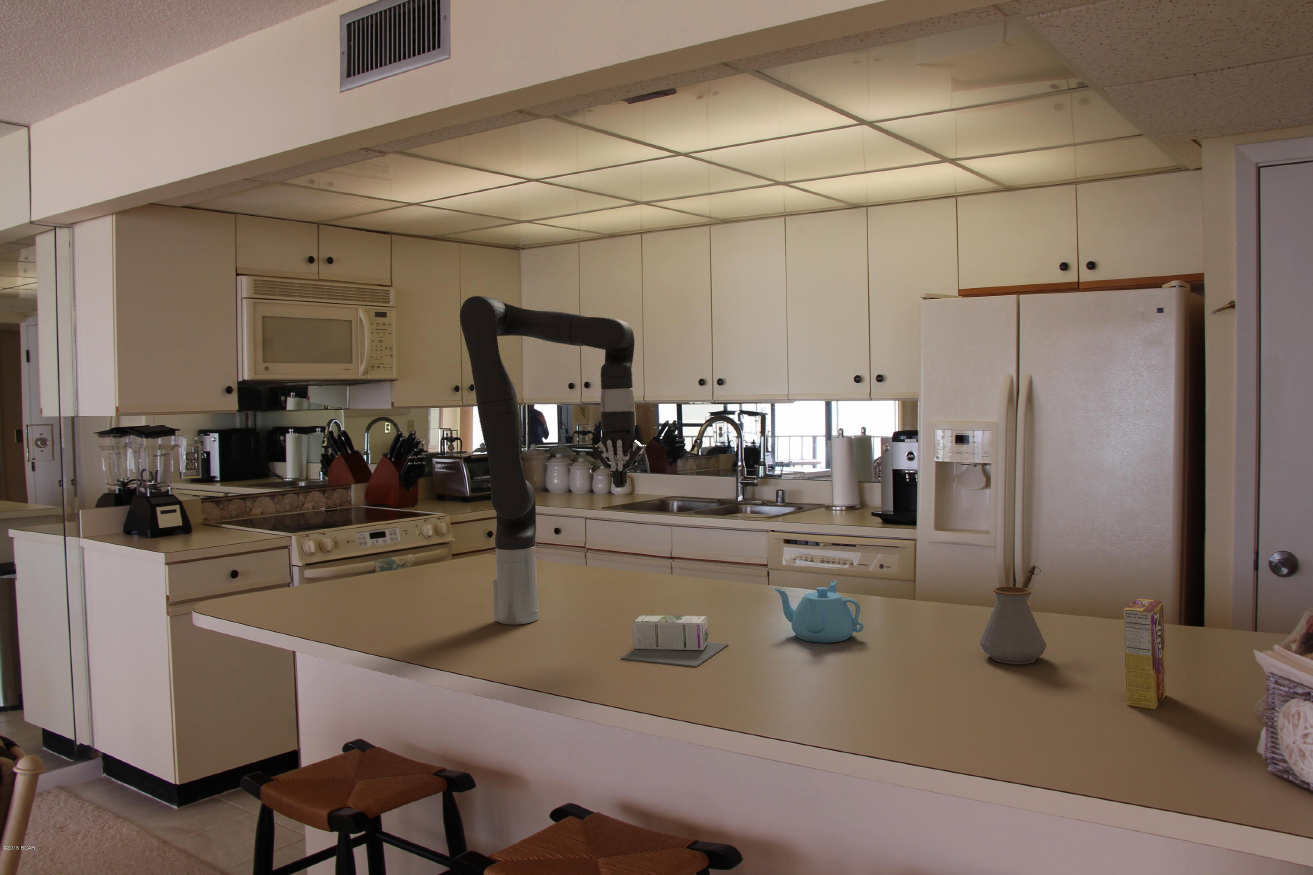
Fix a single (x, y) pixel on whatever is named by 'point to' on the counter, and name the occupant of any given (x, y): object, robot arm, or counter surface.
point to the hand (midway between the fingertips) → (620, 487)
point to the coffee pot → (1013, 627)
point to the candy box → (1145, 653)
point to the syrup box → (670, 632)
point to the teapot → (822, 615)
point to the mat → (676, 655)
